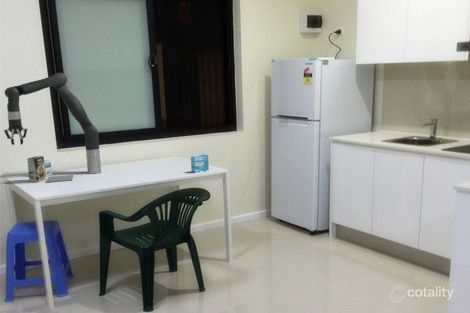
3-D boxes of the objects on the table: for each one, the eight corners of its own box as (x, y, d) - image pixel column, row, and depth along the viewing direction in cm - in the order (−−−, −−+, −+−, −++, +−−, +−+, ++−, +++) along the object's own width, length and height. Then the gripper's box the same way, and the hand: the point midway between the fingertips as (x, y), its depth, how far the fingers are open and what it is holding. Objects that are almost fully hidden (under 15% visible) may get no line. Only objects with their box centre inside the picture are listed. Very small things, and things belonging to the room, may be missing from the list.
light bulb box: (52, 174, 312) (51, 159, 310) (46, 176, 305) (44, 161, 303) (40, 173, 315) (38, 159, 313) (33, 176, 308) (31, 161, 306)
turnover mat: (73, 175, 306) (73, 174, 306) (71, 180, 291) (71, 179, 291) (48, 177, 302) (48, 176, 302) (45, 182, 287) (45, 181, 287)
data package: (194, 173, 307) (193, 156, 305) (191, 172, 311) (190, 155, 309) (208, 170, 314) (208, 154, 312) (205, 169, 318) (205, 153, 316)
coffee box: (37, 182, 288) (35, 158, 285) (29, 182, 289) (26, 158, 286) (46, 179, 296) (43, 156, 293) (37, 179, 298) (35, 155, 295)
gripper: (27, 117, 288) (30, 143, 291) (3, 118, 284) (6, 144, 287) (25, 118, 281) (28, 144, 284) (1, 119, 277) (4, 146, 280)
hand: (17, 144), depth 285 cm, fingers open, 4 cm apart
